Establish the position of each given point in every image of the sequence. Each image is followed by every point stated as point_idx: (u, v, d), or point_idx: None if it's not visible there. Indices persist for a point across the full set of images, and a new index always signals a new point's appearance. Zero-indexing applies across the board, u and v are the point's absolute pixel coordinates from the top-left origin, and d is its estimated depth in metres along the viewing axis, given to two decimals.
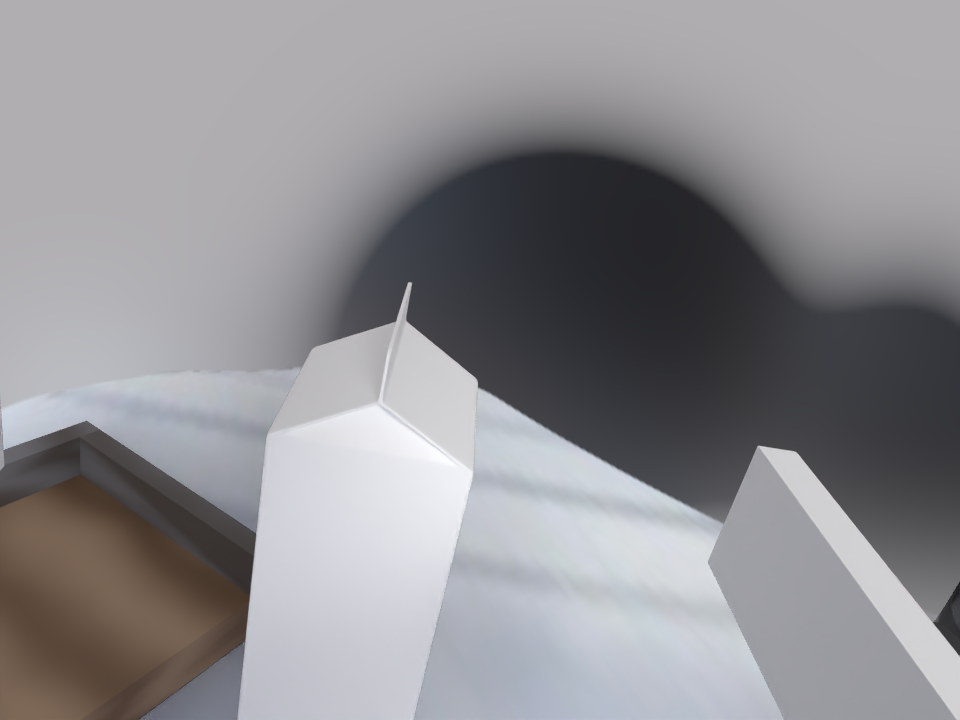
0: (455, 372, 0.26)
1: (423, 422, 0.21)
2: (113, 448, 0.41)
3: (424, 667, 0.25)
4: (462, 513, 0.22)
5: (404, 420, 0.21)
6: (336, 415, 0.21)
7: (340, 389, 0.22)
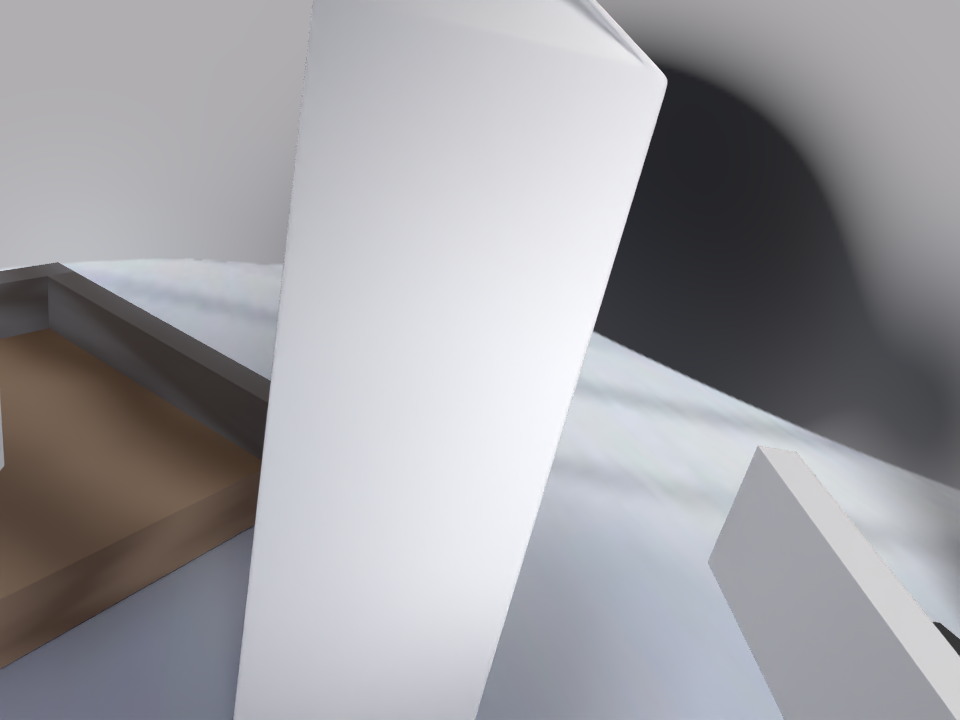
0: None
1: None
2: (90, 289, 0.32)
3: (548, 468, 0.16)
4: (640, 166, 0.13)
5: None
6: None
7: None
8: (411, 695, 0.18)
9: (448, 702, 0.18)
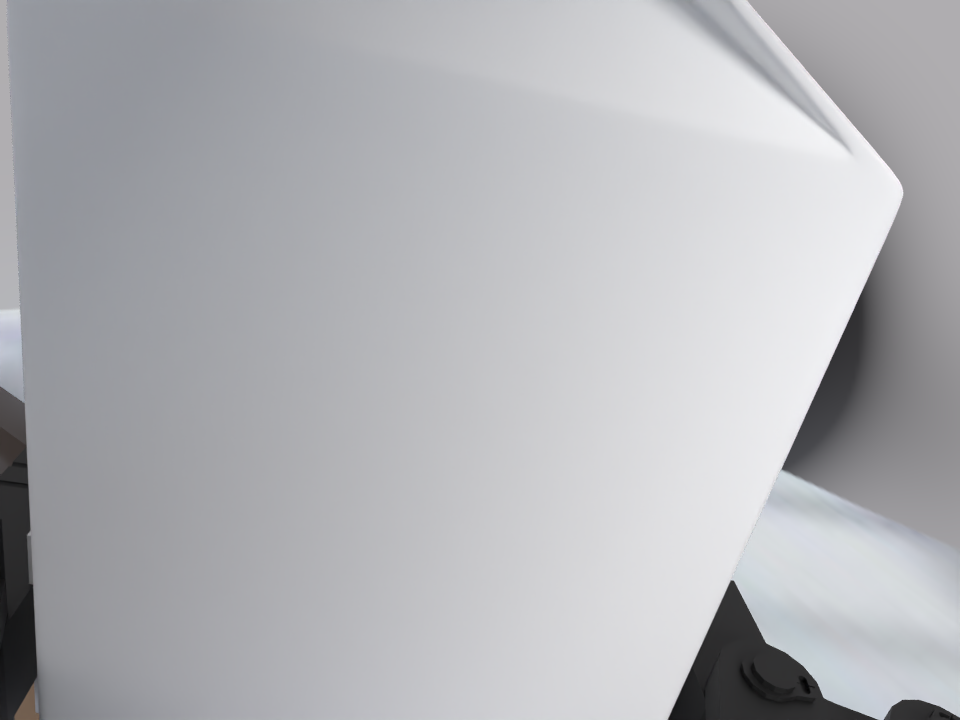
0: None
1: None
2: None
3: None
4: (818, 379, 0.06)
5: None
6: None
7: None
8: None
9: None
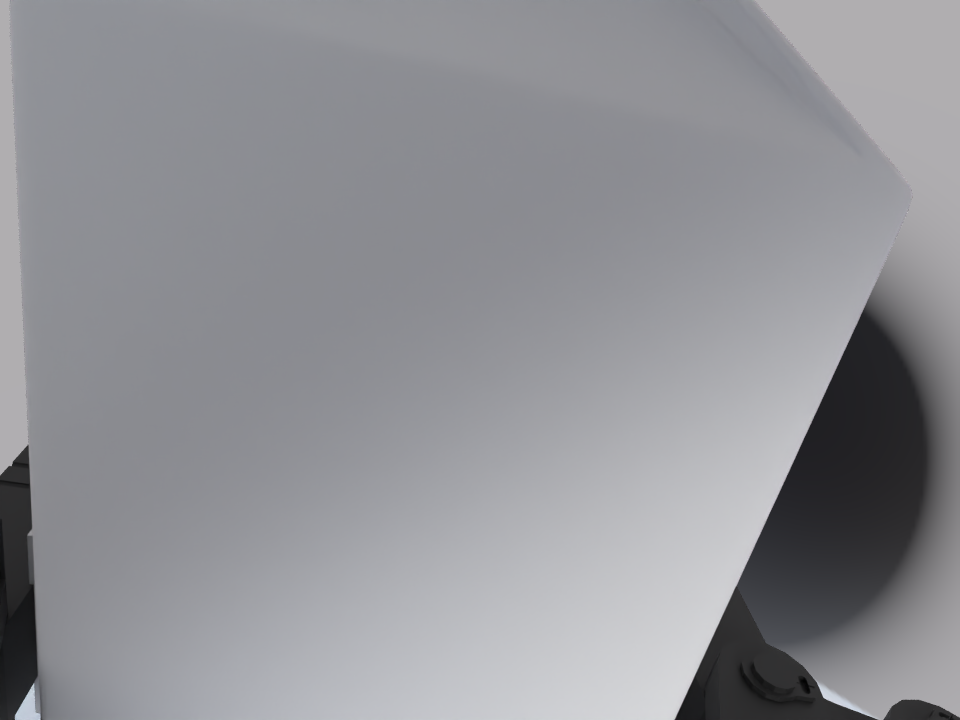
0: None
1: None
2: None
3: None
4: (826, 383, 0.06)
5: None
6: None
7: None
8: None
9: None
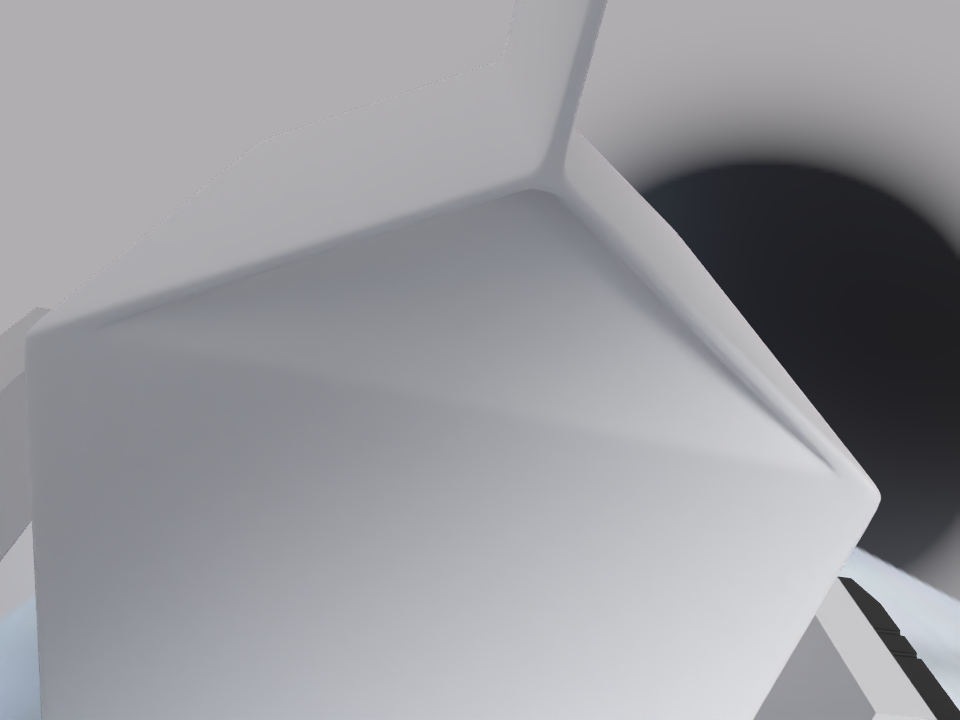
0: (646, 204, 0.10)
1: (694, 294, 0.05)
2: None
3: None
4: (797, 641, 0.06)
5: (651, 268, 0.05)
6: (337, 241, 0.04)
7: (347, 177, 0.06)
8: None
9: None
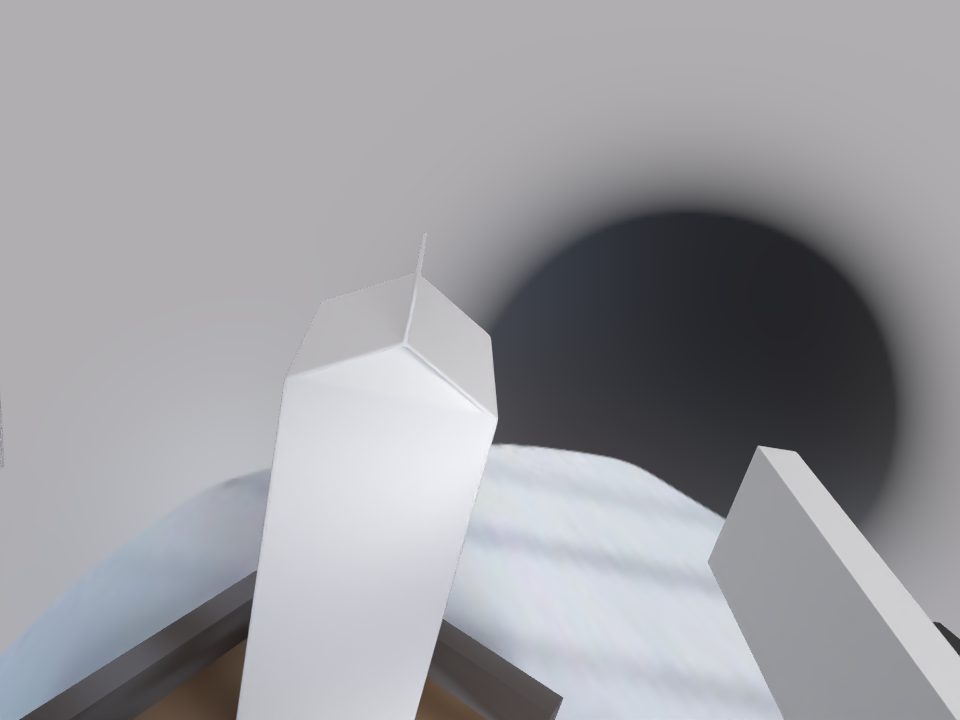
0: (469, 326, 0.25)
1: (446, 367, 0.21)
2: None
3: (438, 627, 0.24)
4: (484, 462, 0.21)
5: (429, 362, 0.20)
6: (358, 357, 0.20)
7: (359, 334, 0.21)
8: None
9: None
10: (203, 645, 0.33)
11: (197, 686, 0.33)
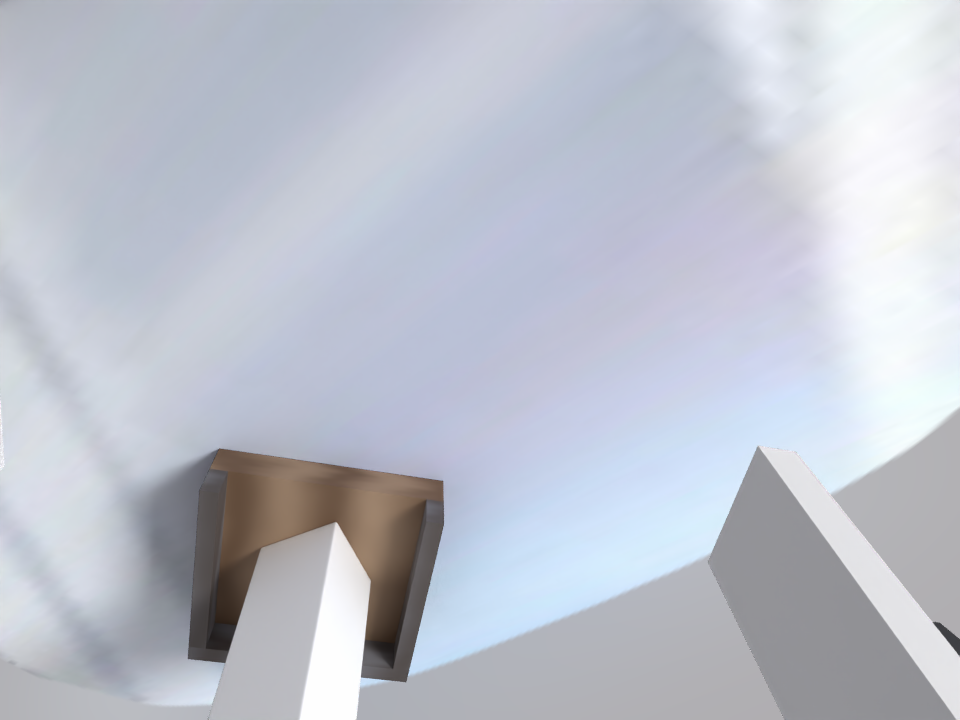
0: None
1: None
2: (197, 627, 0.53)
3: (314, 642, 0.43)
4: None
5: None
6: None
7: None
8: (340, 576, 0.50)
9: (335, 566, 0.50)
10: None
11: None
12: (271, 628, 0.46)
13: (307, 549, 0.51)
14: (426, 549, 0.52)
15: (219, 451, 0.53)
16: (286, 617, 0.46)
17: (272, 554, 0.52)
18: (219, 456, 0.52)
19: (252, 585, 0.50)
